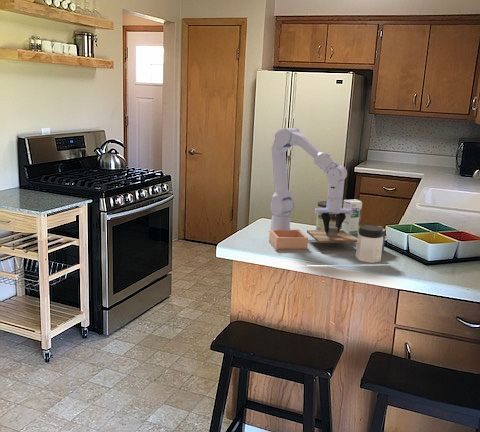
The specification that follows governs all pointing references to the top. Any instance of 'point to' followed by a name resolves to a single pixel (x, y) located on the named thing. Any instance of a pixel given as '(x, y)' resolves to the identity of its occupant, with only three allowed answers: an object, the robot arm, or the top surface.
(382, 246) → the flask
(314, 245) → the mat
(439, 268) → the top surface
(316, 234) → the lid
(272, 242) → the dish
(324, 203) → the coffee can
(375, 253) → the jar
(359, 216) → the syrup box
